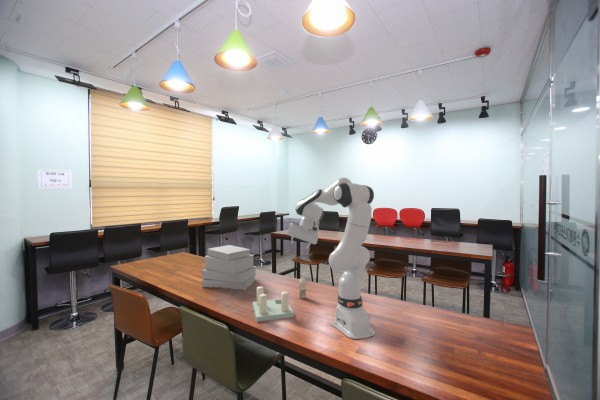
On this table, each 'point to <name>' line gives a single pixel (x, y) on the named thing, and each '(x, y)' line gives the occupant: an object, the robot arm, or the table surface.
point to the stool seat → (271, 307)
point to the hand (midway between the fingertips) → (299, 246)
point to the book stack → (228, 268)
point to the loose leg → (302, 288)
